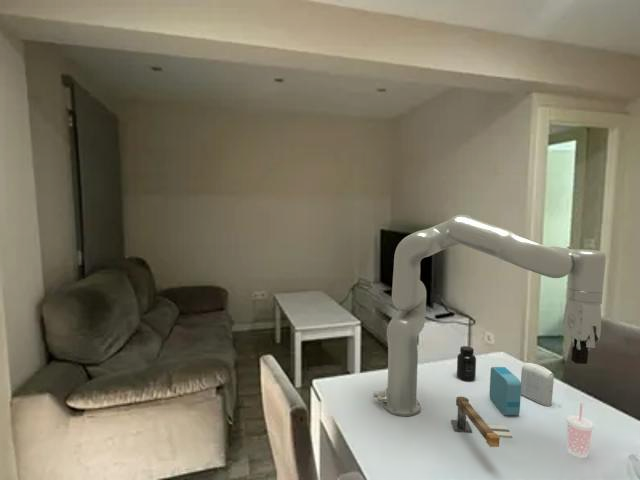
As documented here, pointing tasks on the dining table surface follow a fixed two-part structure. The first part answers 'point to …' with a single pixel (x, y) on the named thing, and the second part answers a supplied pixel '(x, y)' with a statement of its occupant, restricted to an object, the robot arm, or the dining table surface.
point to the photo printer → (537, 383)
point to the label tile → (501, 431)
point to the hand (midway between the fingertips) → (579, 362)
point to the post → (461, 423)
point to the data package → (505, 390)
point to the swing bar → (478, 422)
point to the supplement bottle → (466, 364)
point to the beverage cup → (579, 434)
